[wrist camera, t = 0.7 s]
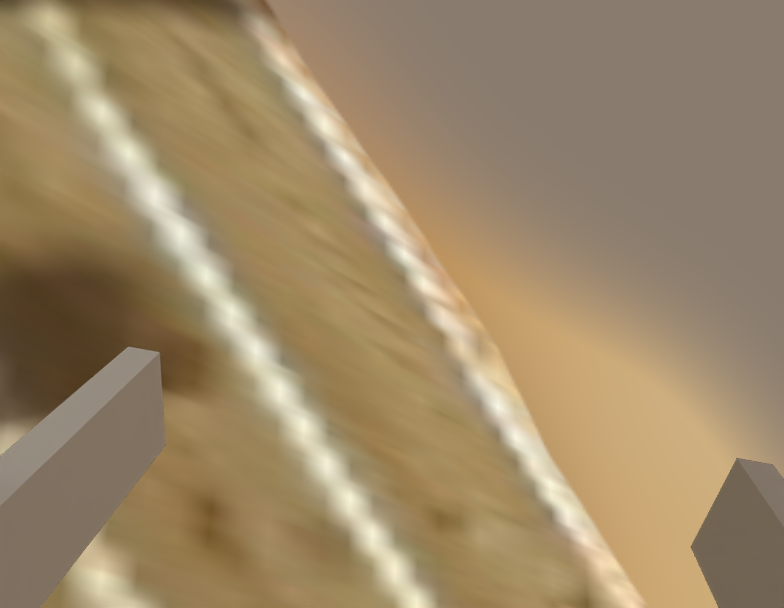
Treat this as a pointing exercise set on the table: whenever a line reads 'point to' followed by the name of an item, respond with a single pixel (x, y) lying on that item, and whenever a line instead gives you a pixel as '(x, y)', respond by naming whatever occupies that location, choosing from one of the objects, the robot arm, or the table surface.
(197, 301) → the table surface
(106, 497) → the robot arm
